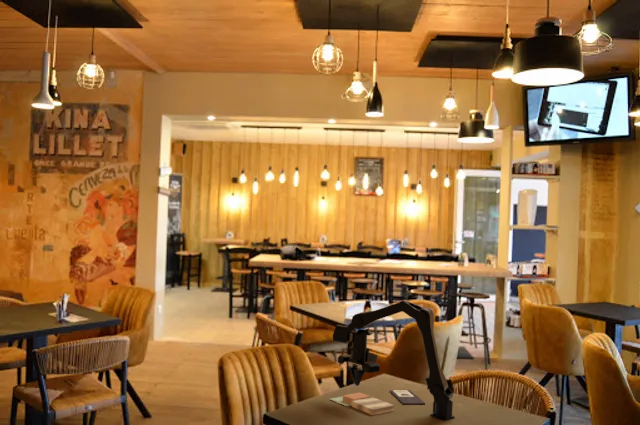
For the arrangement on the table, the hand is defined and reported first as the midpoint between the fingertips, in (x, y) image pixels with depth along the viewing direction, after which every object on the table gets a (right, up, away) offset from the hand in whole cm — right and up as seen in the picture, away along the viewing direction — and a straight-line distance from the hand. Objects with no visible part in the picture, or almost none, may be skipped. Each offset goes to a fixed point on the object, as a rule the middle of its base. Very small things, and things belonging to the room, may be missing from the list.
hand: (357, 385), depth 238 cm
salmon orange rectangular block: (0, -6, 0) cm, 6 cm away
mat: (-2, -6, +2) cm, 7 cm away
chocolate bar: (+21, -8, +10) cm, 24 cm away
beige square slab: (+5, -7, -7) cm, 11 cm away
